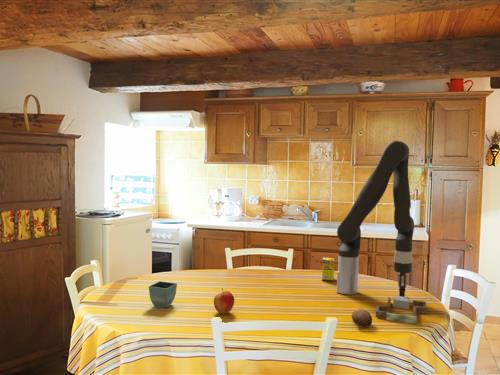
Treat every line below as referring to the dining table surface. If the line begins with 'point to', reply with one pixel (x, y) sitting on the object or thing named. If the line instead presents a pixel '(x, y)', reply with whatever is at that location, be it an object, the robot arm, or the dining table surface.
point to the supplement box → (328, 269)
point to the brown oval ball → (362, 318)
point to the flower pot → (162, 293)
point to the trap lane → (385, 313)
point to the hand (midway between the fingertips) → (401, 299)
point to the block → (401, 302)
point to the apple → (224, 302)
